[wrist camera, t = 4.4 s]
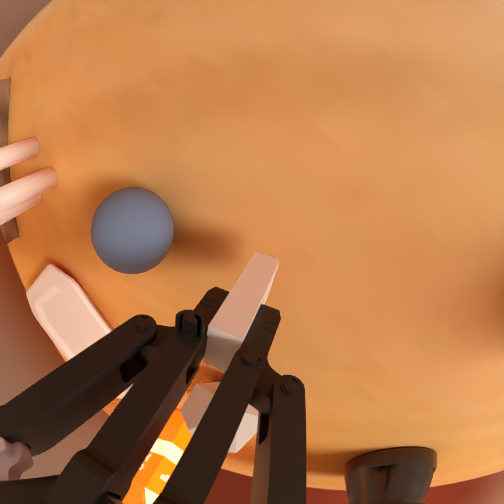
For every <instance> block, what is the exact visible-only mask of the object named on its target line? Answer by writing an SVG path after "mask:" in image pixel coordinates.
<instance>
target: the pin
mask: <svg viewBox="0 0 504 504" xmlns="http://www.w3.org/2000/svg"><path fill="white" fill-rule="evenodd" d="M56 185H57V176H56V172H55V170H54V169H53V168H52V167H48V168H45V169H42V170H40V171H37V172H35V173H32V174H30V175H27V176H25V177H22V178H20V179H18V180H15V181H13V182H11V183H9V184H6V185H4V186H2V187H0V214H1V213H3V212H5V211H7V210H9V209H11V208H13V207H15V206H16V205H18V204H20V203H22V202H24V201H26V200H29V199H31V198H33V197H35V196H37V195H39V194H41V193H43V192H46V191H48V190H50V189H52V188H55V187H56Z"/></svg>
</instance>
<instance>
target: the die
mask: <svg viewBox="0 0 504 504" xmlns="http://www.w3.org/2000/svg"><path fill="white" fill-rule="evenodd" d="M219 384H220V382H209V383H196V385H195V387H194V388H193V390H192V392H191V393H190V395H189V397H188V398H187V400H186V401H185V403H184V405H183V406H182V408H181V410H180V412H181V414H182V417H183V419H184V421H185V424H186V426H187V428H188V430H189V432H190V434H191V435H192V436H193V434H194V432H195V430H196V428H197V426H198V424H199V422H200V421H201V419H202V417H203V415H204V413H205V411H206V409H207V407H208V405H209V403H210V401H211V400H212V398H213V396H214V394H215V392H216V390H217V388H218V386H219ZM258 413H259V411H258V410H256V409H255V408H254V407H252V406H251V405H250V404H248V407H247V409H246V411H245V414H244V416H243V419H242V421H241V423H240V426H239V428H238V430H237V433H236V435H235V437H234V439H233V442H232V444H231V446H230V449H229V451H228V453H237V452H238V451H239V450H240V449H241V448H242V447H243V446H244V445H245V444H246V443H247V442H248V441H249V440H250V439H251V438H252V437H253V435H254V434H255V433H256V432H257V425H258Z"/></svg>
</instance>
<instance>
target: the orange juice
mask: <svg viewBox="0 0 504 504" xmlns="http://www.w3.org/2000/svg"><path fill="white" fill-rule="evenodd" d="M191 437H192V435H191V434H190V432H189V430H188V428H187V426H186V424H185V421H184V419H183V417H182V414H181V412H180V411H177V410H174V412H173V414H172V415H171V417H170V419H169V420H168V422H167V424H166V425H165V427H164V429H163V430H162V432H161V434H160V435H159V437H158V439H157V440H156V442H155V444H154V445H153V447H152V449H151V450H150V452H149V454H148V455H147V457H146V459H145V460H144V462H143V464H142V465H141V467H140V468H139V470H138V472H137V473H136V475H135V477H134V478H133V480H132V483H131V487H130V489H129V491H128V493H127V495H126V496H125V498H124V500H123V501H122V502H123V503H124V504H153V502H154V501H155V499H156V498H157V497H158V496H159V494H160V493H161V491H162V490H163V488H164V486H165V485H166V483H167V481H168V479H169V477H170V476H171V474H172V472H173V470H174V469H175V467H176V465H177V463H178V461H179V459H180V458H181V456H182V454H183V452H184V450H185V449H186V447H187V445H188V443H189V441H190V439H191Z"/></svg>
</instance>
